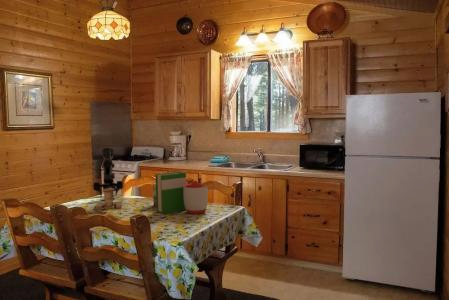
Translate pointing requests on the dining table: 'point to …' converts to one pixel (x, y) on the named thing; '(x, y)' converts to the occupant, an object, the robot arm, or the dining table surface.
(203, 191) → the white plant pot
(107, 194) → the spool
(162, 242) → the dining table surface
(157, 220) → the dining table surface
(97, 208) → the notched board
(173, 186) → the hardback book
